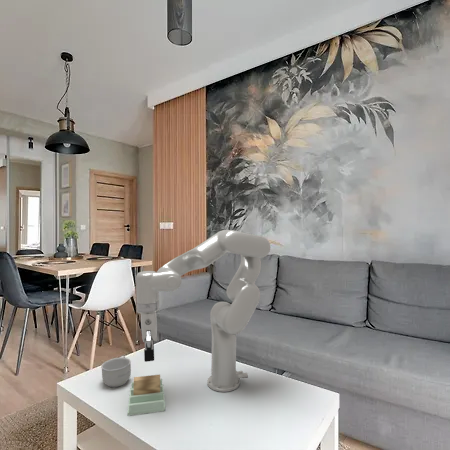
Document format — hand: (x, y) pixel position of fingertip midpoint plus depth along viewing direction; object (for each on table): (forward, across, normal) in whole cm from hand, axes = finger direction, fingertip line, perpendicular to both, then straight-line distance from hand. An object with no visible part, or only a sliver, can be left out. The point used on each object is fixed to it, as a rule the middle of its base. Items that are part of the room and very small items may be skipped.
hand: (149, 354), depth 110 cm
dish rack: (+16, 0, +1) cm, 16 cm away
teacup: (+16, +16, +12) cm, 26 cm away
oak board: (+15, 0, +1) cm, 15 cm away
